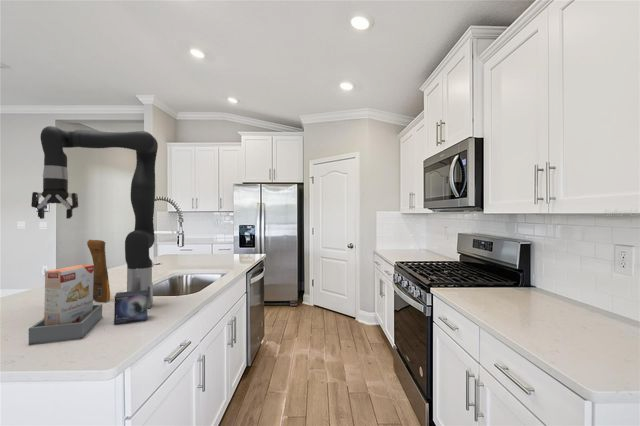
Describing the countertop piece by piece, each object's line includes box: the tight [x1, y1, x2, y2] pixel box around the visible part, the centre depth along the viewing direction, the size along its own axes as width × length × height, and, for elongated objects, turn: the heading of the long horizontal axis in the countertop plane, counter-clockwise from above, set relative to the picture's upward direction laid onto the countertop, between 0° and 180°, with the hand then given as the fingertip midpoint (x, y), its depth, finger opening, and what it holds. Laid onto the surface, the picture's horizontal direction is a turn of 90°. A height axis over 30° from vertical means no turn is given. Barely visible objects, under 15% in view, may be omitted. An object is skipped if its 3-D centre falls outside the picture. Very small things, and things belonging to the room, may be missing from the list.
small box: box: [113, 290, 148, 326], centre depth 116 cm, size 11×6×10 cm, turn 118°
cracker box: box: [43, 264, 94, 326], centre depth 107 cm, size 14×6×21 cm, turn 177°
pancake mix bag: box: [86, 239, 111, 303], centre depth 144 cm, size 7×19×28 cm, turn 48°
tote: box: [28, 304, 103, 346], centre depth 107 cm, size 14×22×5 cm, turn 21°
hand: (55, 218), depth 123 cm, fingers open, 8 cm apart
